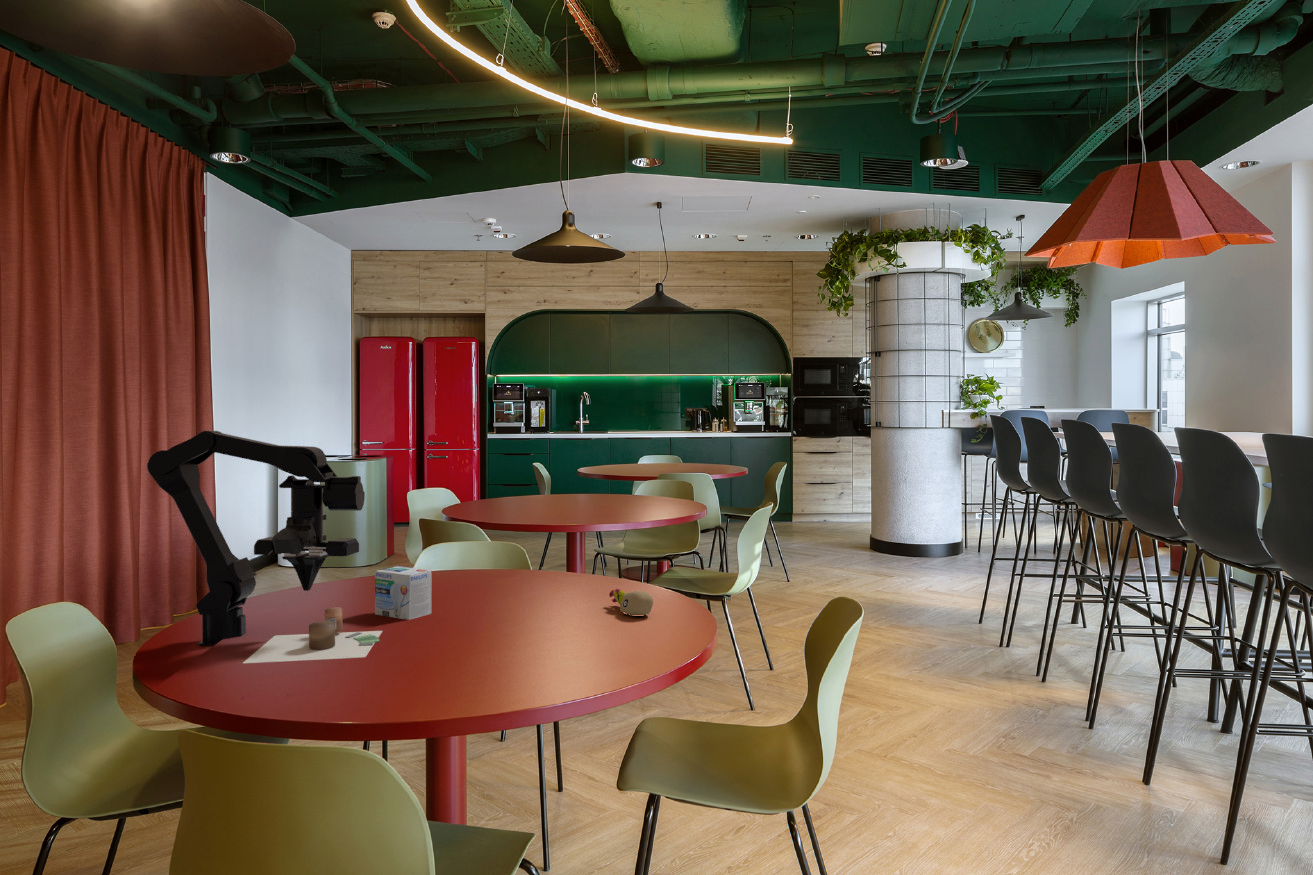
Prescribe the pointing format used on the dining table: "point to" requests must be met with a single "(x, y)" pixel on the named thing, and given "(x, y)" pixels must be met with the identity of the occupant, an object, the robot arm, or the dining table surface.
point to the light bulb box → (403, 592)
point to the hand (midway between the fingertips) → (307, 590)
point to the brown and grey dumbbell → (326, 629)
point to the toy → (633, 601)
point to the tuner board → (299, 650)
